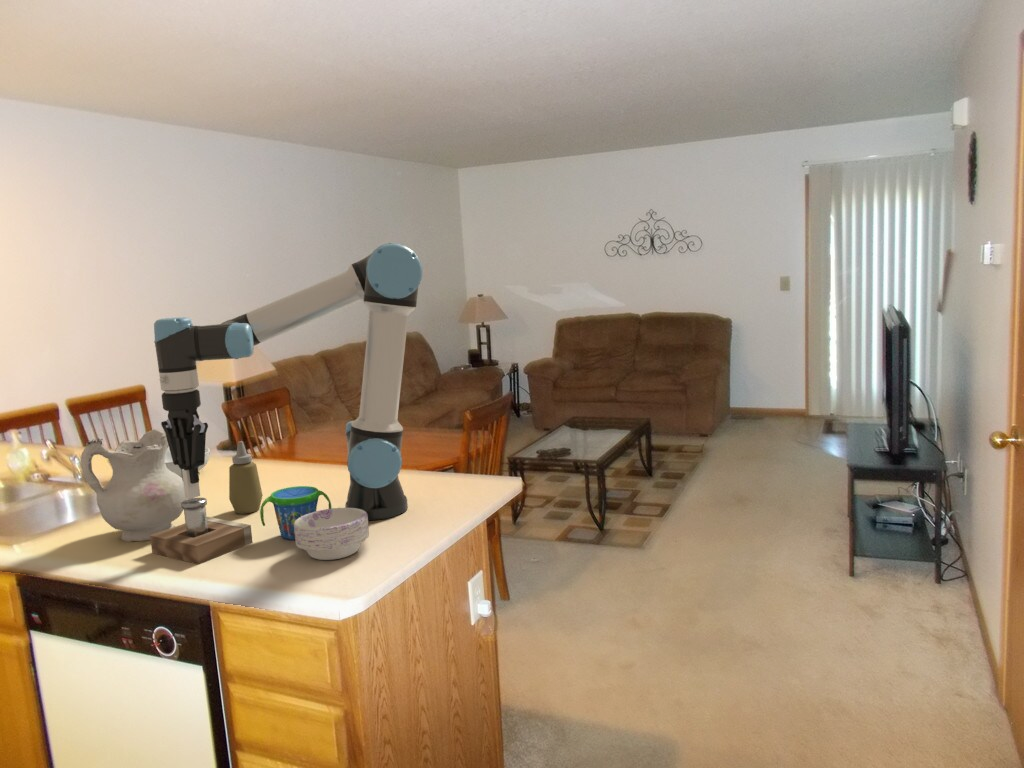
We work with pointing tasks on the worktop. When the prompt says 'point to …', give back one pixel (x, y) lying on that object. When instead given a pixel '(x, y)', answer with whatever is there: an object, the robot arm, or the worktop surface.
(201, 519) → the metal capped cylinder
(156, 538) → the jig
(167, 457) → the serving bowl
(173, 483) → the ceramic pitcher
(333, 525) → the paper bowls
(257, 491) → the squeeze bottle
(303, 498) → the snack cup
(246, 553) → the worktop surface
